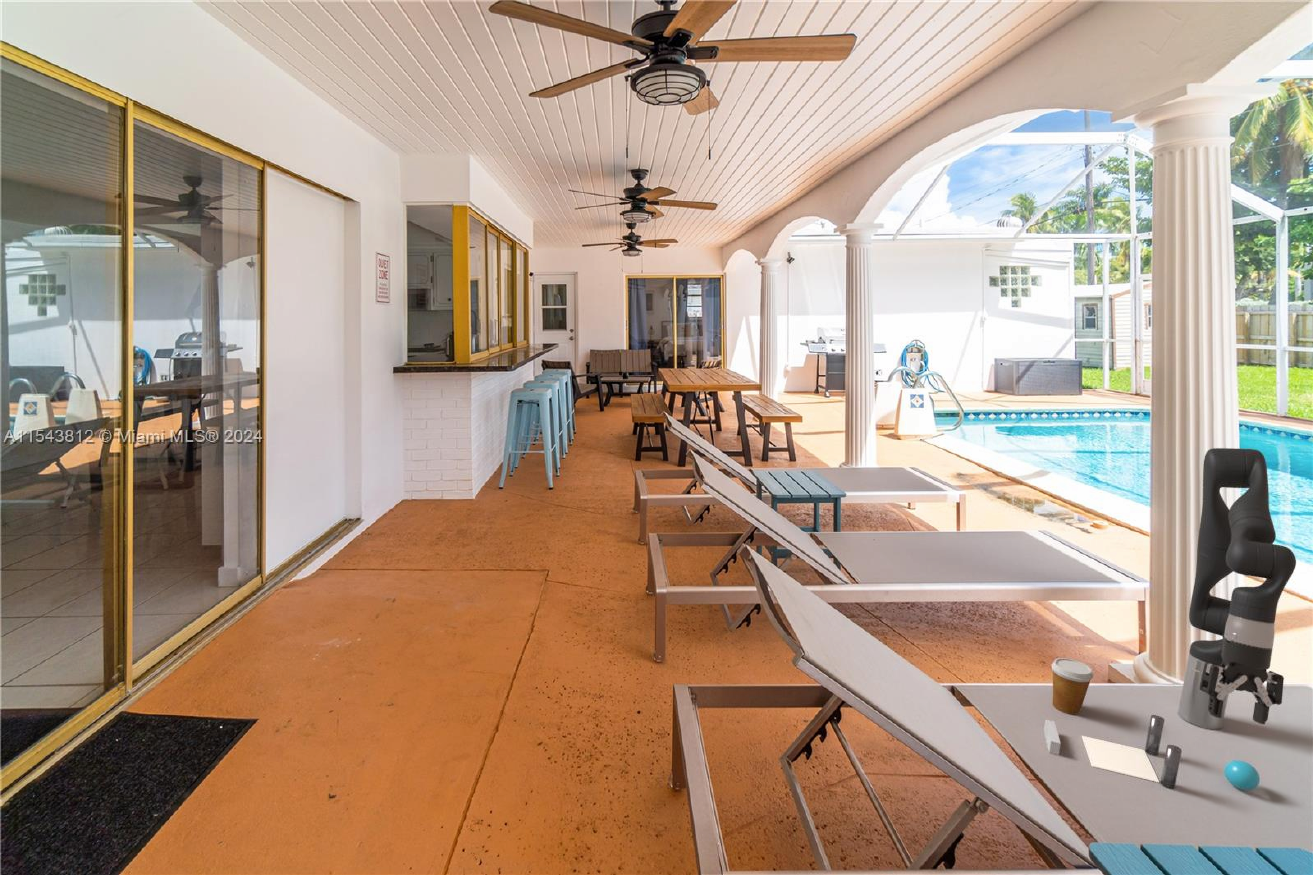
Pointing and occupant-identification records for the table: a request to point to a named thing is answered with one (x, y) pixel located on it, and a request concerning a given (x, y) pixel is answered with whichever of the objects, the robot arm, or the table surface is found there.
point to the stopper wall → (1052, 737)
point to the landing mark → (1119, 759)
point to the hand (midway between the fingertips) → (1236, 719)
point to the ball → (1242, 775)
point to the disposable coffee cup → (1070, 684)
